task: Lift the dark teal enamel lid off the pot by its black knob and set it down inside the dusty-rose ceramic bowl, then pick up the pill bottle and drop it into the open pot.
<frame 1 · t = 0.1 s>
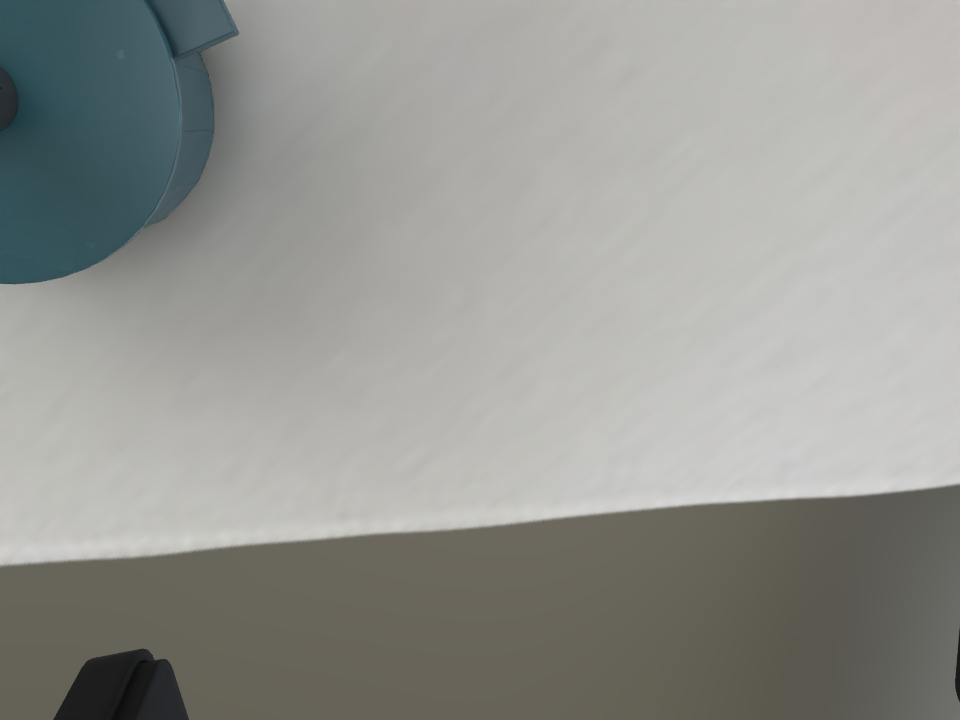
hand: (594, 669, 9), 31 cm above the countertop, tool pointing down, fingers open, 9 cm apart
pot: (72, 102, 34), on the countertop
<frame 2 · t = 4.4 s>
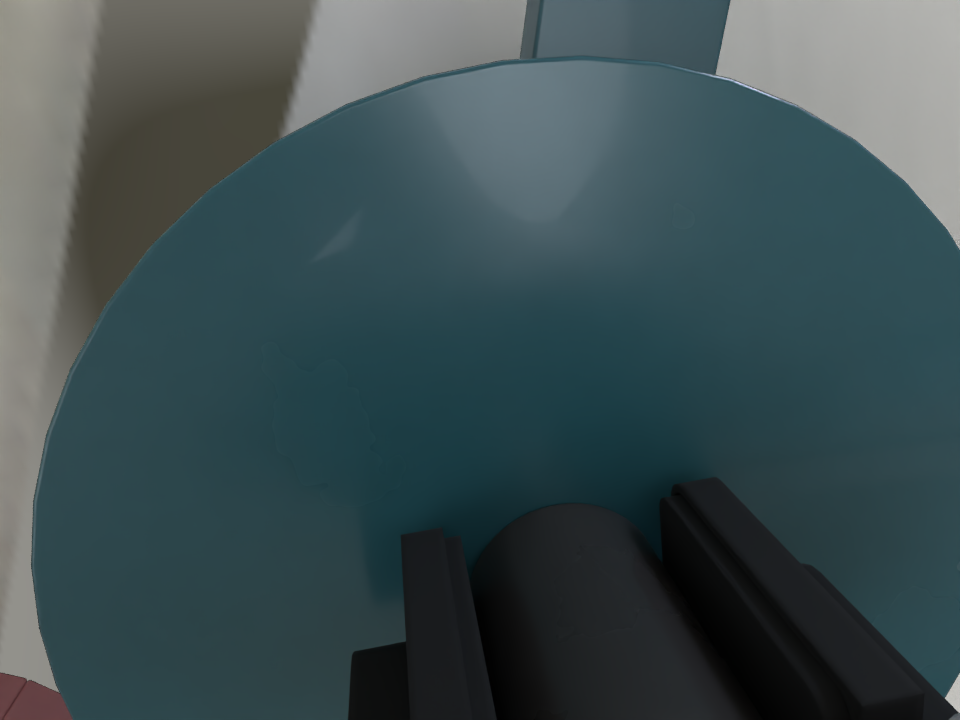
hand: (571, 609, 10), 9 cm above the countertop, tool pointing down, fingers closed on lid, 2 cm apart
lid: (555, 566, 11), point 8 cm above the countertop, touching gripper, pot
pot: (481, 382, 18), on the countertop
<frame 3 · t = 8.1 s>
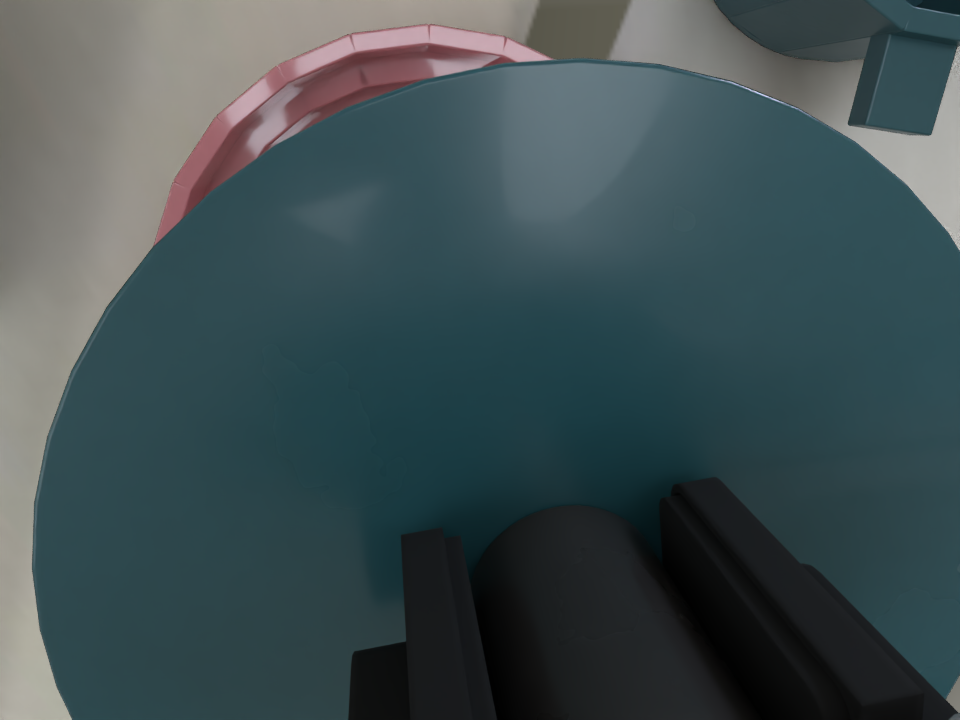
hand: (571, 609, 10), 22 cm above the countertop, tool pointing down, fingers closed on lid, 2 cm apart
lid: (555, 568, 11), point 21 cm above the countertop, touching gripper
bowl: (424, 285, 31), on the countertop
when the fingers open (2 cm above the countertop, at t = 11.9 s): lid stays where it is, resting on bowl.
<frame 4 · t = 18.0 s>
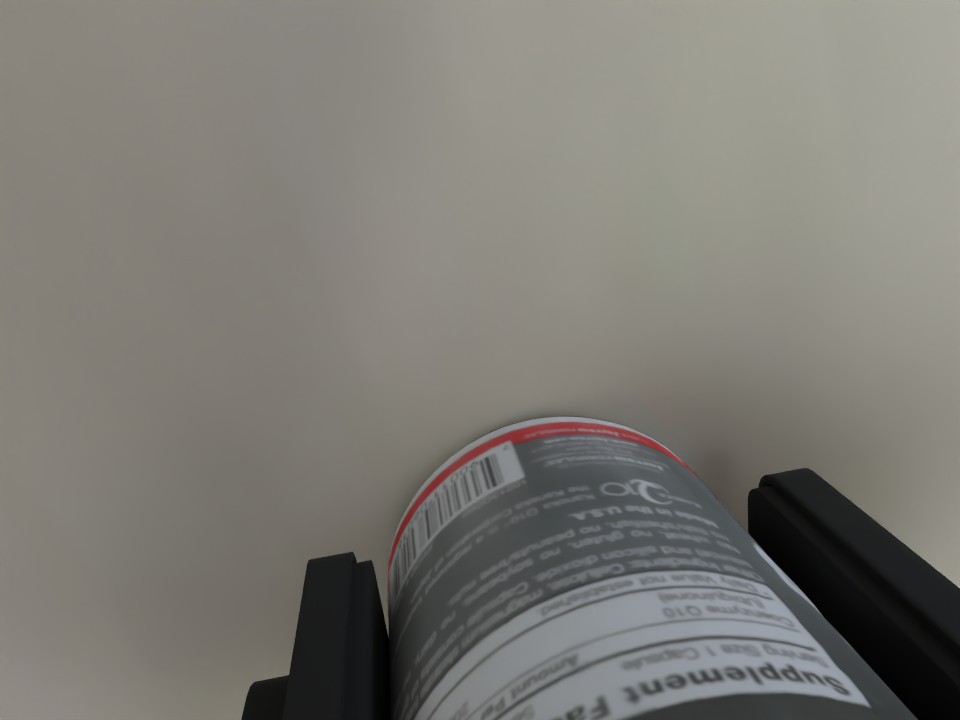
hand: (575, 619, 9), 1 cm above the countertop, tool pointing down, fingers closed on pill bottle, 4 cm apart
pill bottle: (548, 551, 11), on the countertop, touching gripper
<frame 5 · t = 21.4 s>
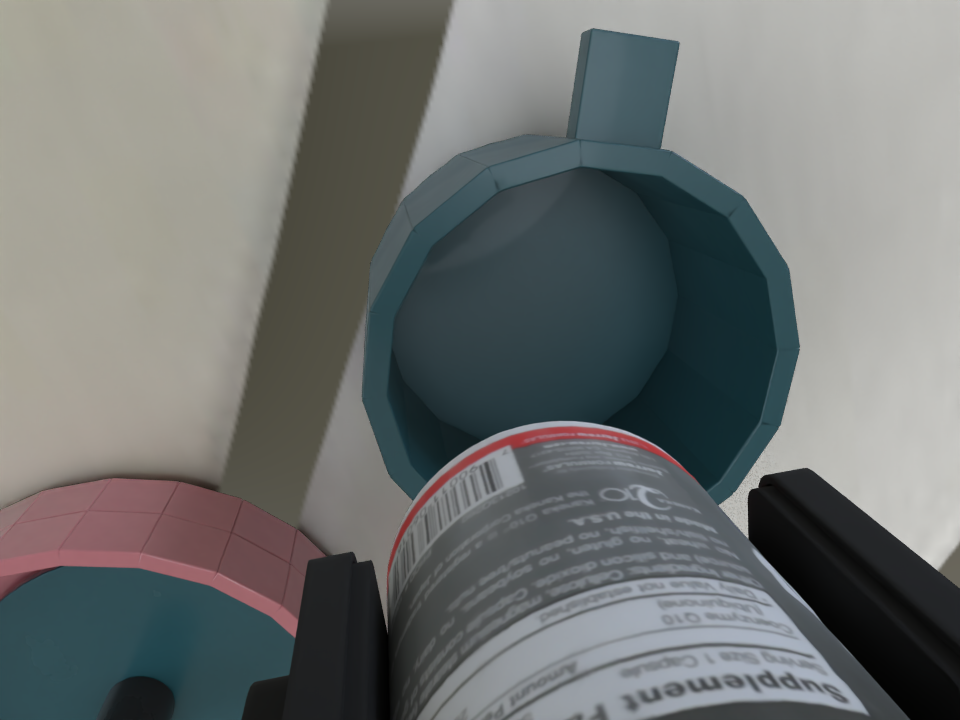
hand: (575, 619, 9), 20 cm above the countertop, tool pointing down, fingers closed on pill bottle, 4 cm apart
pill bottle: (547, 555, 11), point 18 cm above the countertop, touching gripper
lid: (144, 693, 30), point 1 cm above the countertop, touching bowl
bowl: (151, 673, 31), on the countertop
pot: (531, 306, 29), on the countertop
when the fingers open (7 cm above the countertop, at t = 24.8 s): pill bottle drops 5 cm, resting on pot.
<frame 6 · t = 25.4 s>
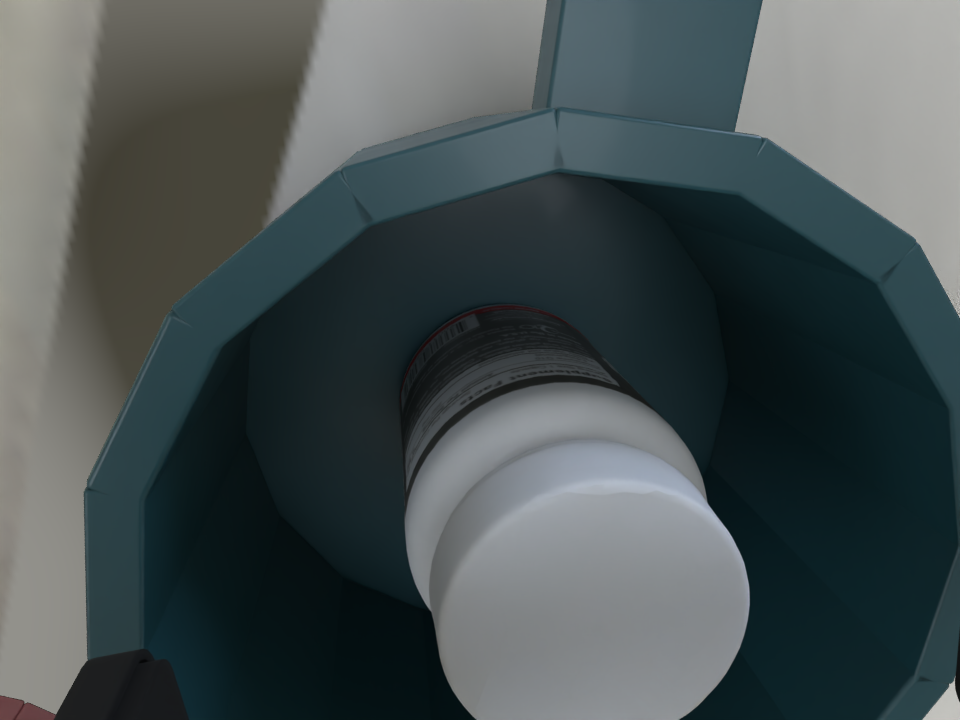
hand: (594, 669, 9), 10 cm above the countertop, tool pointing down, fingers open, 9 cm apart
pill bottle: (500, 396, 17), resting on pot
pot: (492, 397, 18), on the countertop
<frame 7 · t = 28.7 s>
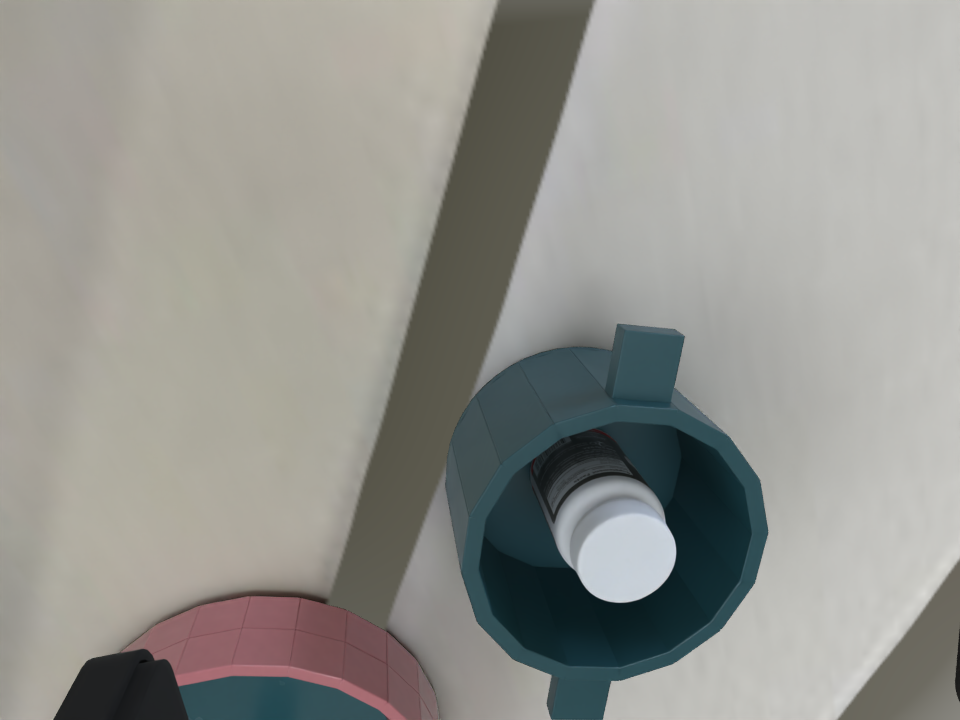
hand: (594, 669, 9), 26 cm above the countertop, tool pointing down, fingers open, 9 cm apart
pill bottle: (574, 465, 37), resting on pot
pot: (569, 465, 37), on the countertop
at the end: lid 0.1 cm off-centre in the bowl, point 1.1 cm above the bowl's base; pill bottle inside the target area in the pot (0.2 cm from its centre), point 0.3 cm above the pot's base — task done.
